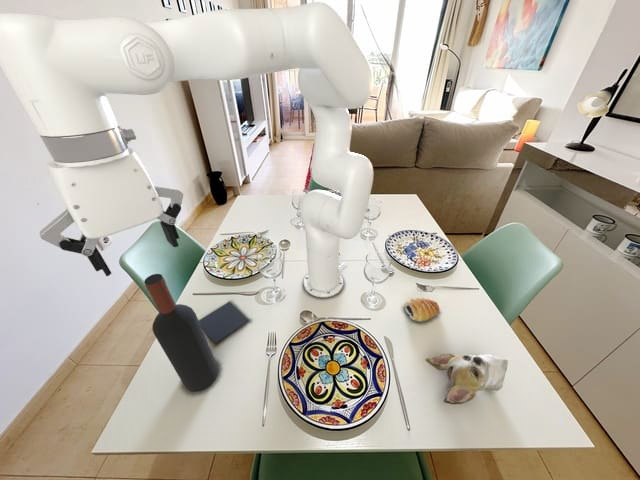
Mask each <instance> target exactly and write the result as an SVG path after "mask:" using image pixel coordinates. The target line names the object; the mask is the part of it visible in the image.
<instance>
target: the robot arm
mask: <svg viewBox="0 0 640 480" xmlns="http://www.w3.org/2000/svg"><path fill="white" fill-rule="evenodd" d="M0 69H1V70H2V72H3V74H4V76H5V78H6V79H7V82H8V83H9V84H10V86H11V87H12V89H13V91H14V93H15V95H16V97H17V98H18V100H19V102H20V103H21V105H22V108H24V111H25V113H26V114H27V116H28V118H29V120H30V121H31V123H32V125H33V126H34V128H35V130H36V132H37V133H38V135H39V137H40V139H41V140H42V142H43V144H44V146H45V147H46V149H47V151H48V153H49V154H50V157H51V158H52V159H53V160H51V161H49V162H48V163H47V167H48V171H49V174H50V177H51V179H52V183H53V185H54V187H55V189H56V191H57V193H58V195H59V197H60V199H61V200H62V202H63V205H64V206H65V208H66V209H65V210H64V211H63V212H62V213H60V214H59V215H57V216H56V218H54V219H53V220H51V222H49V223H48V224H47V225H46V226H45V227H43V228H42V229H41V230H40V231H39V237H40V239H41V240H43V241H44V242H47V243H49V244H51V245H53V246H55V247H57V248H60V249H61V250H62V251H66V252H70V253H74V254H75V253H76V254H81V255H82V256H83V257H87V259H88V261H89V263H90V264H91V265H92V267H93V269H94V270H95V272H99V271H102V272H103V273H104V275H105V276H106V277H109V276H111V275H112V271H111V270H110V268H109V266H108V264H107V262H106V261H105V259H104V258H103V256H102V255H101V252H100V251H99V249H98V247H97V245H98V243H99V240H100V239H102V238H105V237H109V236H112V235H115V234H118V233H121V232H123V231H127V230H130V229H132V228H135V227H139V226H140V225H144V224H147V223H149V222H152V221H155V220H159V221H160V222H159V224H160V226H161V228H162V231H163V234H164V236H165V239H166V241H167V243H169V245H171V246H172V247H173V248H177V247H179V242H178V239H180V235H179V232H178V230H177V227H176V225H175V224H176V223H177V218H178V216H179V214H180V212H181V211H182V204H183V199H184V193H183V191H180V190H179V189H174V188H167V187H161V186H155V185H154V183H153V182H152V180H151V177H150V175H149V174H148V172H147V170H146V168H145V165H143V163H142V161H141V159H140V158H139V156H138V155H137V153H136V152H135V150H134V149H133V148H130V147H129V146H128V145H129V143H130V142H131V141H135V140H137V136H136V133H135V131H134V129H133V128H128V129H126V128H122V127H120V126H119V125H118V121H117V119H116V117H115V114H114V112H113V110H112V107H111V104H110V102H109V100H108V97H107V95H106V94H114V95H115V94H119V95H132V96H133V95H135V96H150V95H155V94H158V93H160V92H162V91H163V90H165V89H166V88H167V87H168V86H169V85H170V84H171V83H174V82H175V83H176V82H185V81H198V80H202V81H203V80H206V81H234V80H243V79H248V78H253V77H257V76H262V75H263V76H264V75H267V74H273V73H278V72H283V71H290V70H296V69H297V70H298V73H297V84H298V89H299V92H300V94H301V96H302V97H303V98H304V100H305V101H306V103H307V105H308V106H309V107H310V109H311V112H312V114H313V117H314V121H315V134H314V135H315V136H314V143H313V152H312V160H311V170H310V172H311V178H312V180H313V182H315V184H317V185H319V186H321V187H324V188H327V189H329V190H332V191H335V192H338V193H340V195H338V194H336V193H333V192H329V191H327V190H323V189H313V190H310V191H308V192H306V194H304V196H303V198H302V199H301V203H300V217H301V220H302V223H303V227H304V232H305V241H306V242H305V244H306V261H307V274H306V275H305V276H304V279H303V285H304V289H305V291H306V292H307V293H309V295H312V296H314V297H318V298H329V297H333V296H336V295H337V294H339V293H340V291H341V290H342V289H343V287H344V279H343V277H342V275H341V273H342V272H343V270H345V269H346V268H348V264H347V263H346V261H343V262H341V263H340V239H342V240H353V239H354V238H355V237H357V235H358V234H359V233H360V232H361V229H362V227H363V225H364V222H365V218H366V214H367V211H368V205H369V201H370V196H371V192H372V188H373V183H374V177H375V176H374V167H373V164H372V162H371V161H370V159H369V158H368V157H366V156H364V155H362V154H359V153H355V152H351V150H350V149H351V148H350V147H351V141H352V133H353V125H352V124H353V123H352V119H351V115H350V112H349V110H356V109H359V108H362V107H363V106H364V105H366V104H367V102H368V101H369V100H370V98H371V96H372V93H373V91H374V82H375V80H374V72H373V68H372V66H371V63H370V62H369V59H368V57H367V56H366V55H365V53H364V51H363V50H362V48H361V47H360V45H359V43H358V41H357V40H356V38H355V36H354V34H353V33H352V32H351V30H350V29H349V27H348V26H347V24H346V22H345V21H344V20H343V19H342V17H341V16H340V15H339V14H338V12H337V11H336V10H335V9H334V8H332V6H330V5H329V4H327V3H325V2H321V1H314V2H309V3H304V4H299V5H294V6H293V5H292V6H285V7H284V6H283V7H264V8H223V9H214V10H209V11H204V12H203V11H202V12H200V13H196V14H193V15H190V16H185V17H181V18H180V17H179V18H175V19H174V18H173V19H168V20H167V19H166V20H157V21H146V22H144V21H141V20H138V19H136V18H132V17H128V16H121V15H120V16H118V15H117V16H104V17H93V18H77V19H76V18H75V19H74V18H73V19H67V18H66V19H65V18H61V17H57V16H51V15H46V14H38V13H26V12H25V13H24V12H0ZM160 198H166V199H170V203H169V205H168V206H167V208H166V210H164V207H163V204H162V200H161V199H160ZM73 223H74V224H75V225H76V227H77V229H78V230H79V231H80V233H81V236H80V238H79V239H76V238H71V237H67V236H64V235H63V234H62V233H63V232H64V231H65V230H67V228H69V227H70V226H71V225H72V224H73Z"/></svg>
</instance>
